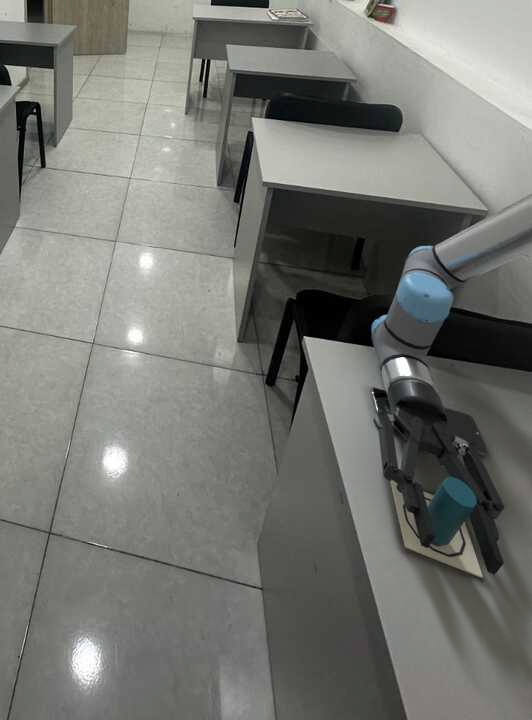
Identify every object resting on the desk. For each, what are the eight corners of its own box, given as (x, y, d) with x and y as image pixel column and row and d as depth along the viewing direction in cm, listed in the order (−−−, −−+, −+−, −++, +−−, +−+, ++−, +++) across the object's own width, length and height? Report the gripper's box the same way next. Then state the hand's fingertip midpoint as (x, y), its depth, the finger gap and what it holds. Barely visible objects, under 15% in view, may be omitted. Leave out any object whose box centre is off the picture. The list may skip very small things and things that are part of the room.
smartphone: (370, 385, 87) (472, 414, 83) (368, 389, 87) (470, 418, 83) (380, 422, 81) (491, 456, 76) (378, 426, 81) (489, 460, 77)
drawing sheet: (458, 505, 71) (459, 504, 70) (482, 578, 63) (483, 577, 63) (389, 480, 73) (390, 479, 73) (404, 547, 65) (405, 546, 65)
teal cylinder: (442, 525, 68) (470, 483, 64) (451, 555, 65) (481, 512, 61) (413, 514, 69) (439, 472, 65) (420, 543, 66) (448, 500, 62)
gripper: (471, 432, 79) (541, 606, 59) (342, 390, 84) (365, 536, 64) (490, 402, 76) (571, 574, 56) (355, 360, 81) (384, 503, 61)
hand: (461, 553), depth 60 cm, fingers open, 7 cm apart
